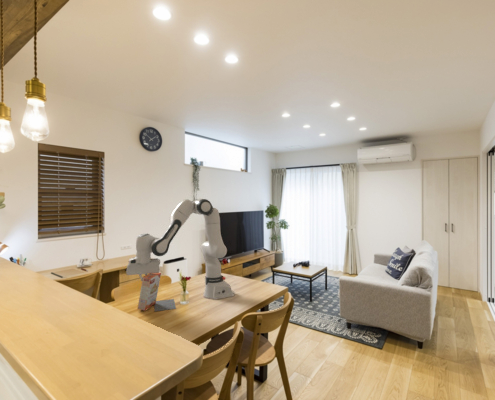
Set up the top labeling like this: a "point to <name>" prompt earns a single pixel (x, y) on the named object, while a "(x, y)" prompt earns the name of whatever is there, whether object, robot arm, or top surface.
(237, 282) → the top surface
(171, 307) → the mat
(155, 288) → the cracker box
